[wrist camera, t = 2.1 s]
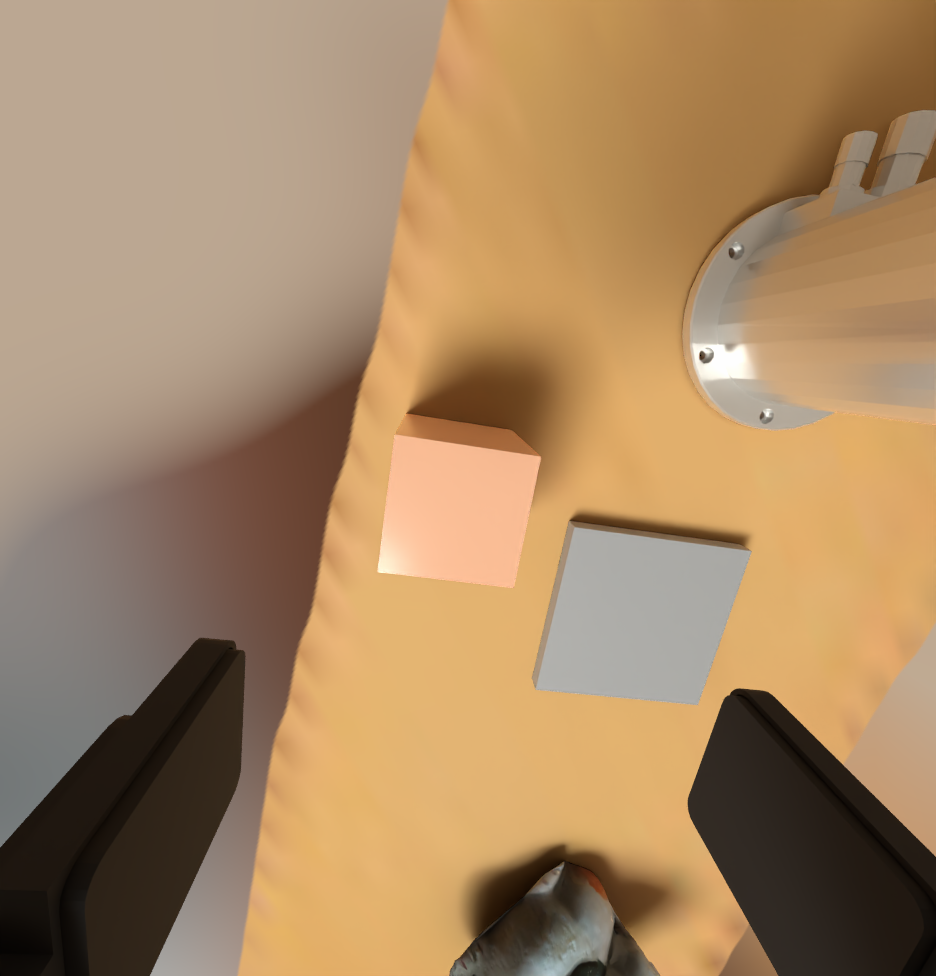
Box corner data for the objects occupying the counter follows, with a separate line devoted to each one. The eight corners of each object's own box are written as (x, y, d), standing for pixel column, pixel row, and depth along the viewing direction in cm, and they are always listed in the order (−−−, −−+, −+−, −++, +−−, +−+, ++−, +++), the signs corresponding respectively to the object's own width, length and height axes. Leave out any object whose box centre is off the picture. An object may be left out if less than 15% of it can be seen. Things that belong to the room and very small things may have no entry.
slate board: (569, 520, 30) (574, 527, 28) (739, 544, 31) (751, 551, 30) (532, 678, 33) (535, 689, 31) (688, 693, 34) (697, 705, 33)
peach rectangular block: (406, 413, 27) (394, 434, 19) (511, 430, 28) (541, 456, 20) (393, 515, 29) (377, 571, 21) (493, 528, 29) (513, 588, 22)
